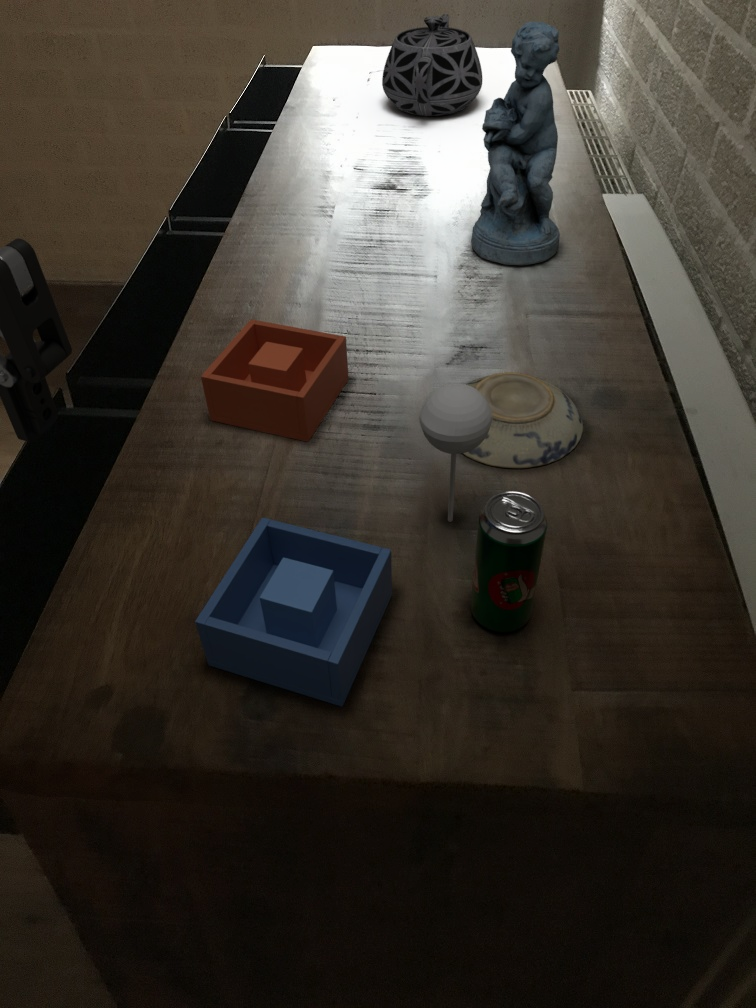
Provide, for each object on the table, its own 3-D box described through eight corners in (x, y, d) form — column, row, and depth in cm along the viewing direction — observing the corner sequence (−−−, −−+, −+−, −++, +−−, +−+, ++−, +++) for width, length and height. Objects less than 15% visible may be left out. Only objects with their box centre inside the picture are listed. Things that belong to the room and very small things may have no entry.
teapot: (489, 80, 164) (495, -4, 154) (471, 134, 143) (476, 41, 133) (399, 76, 168) (398, -6, 157) (368, 129, 146) (365, 38, 136)
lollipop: (452, 488, 78) (459, 359, 67) (496, 521, 74) (510, 390, 64) (404, 518, 75) (404, 389, 64) (447, 553, 72) (455, 423, 61)
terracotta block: (254, 401, 87) (248, 363, 84) (271, 379, 90) (266, 341, 86) (291, 409, 86) (286, 370, 82) (307, 386, 89) (303, 348, 85)
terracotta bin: (210, 420, 86) (200, 376, 82) (257, 361, 94) (250, 318, 90) (308, 442, 83) (303, 397, 79) (348, 379, 91) (346, 336, 87)
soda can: (486, 580, 69) (497, 478, 61) (540, 602, 67) (559, 501, 59) (459, 620, 66) (467, 520, 58) (515, 645, 64) (532, 545, 56)
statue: (472, 288, 112) (490, 125, 87) (462, 168, 122) (476, -9, 97) (559, 284, 112) (602, 120, 87) (542, 165, 121) (577, -14, 96)
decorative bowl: (610, 424, 84) (503, 364, 92) (617, 396, 82) (506, 337, 90) (517, 492, 77) (410, 421, 85) (521, 464, 75) (410, 393, 83)
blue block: (267, 636, 65) (259, 597, 61) (289, 596, 68) (283, 556, 64) (316, 650, 64) (311, 612, 60) (337, 609, 66) (333, 570, 63)
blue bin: (208, 665, 64) (194, 621, 60) (270, 562, 71) (262, 516, 67) (342, 707, 61) (337, 664, 57) (392, 594, 68) (391, 549, 64)
